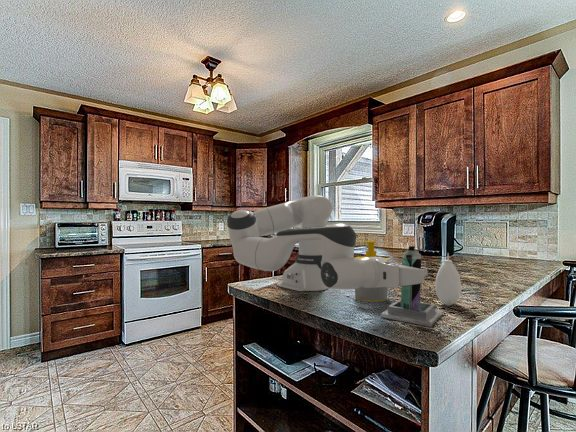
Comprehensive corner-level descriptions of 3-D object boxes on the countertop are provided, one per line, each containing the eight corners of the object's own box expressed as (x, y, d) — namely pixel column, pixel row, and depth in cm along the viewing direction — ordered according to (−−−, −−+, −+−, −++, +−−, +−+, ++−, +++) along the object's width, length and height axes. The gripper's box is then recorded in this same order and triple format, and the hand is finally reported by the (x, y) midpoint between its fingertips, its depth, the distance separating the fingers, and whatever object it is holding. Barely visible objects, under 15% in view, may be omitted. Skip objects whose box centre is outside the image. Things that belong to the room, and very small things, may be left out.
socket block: (381, 317, 98) (381, 306, 98) (396, 307, 109) (396, 297, 109) (430, 326, 90) (430, 315, 90) (442, 314, 101) (442, 304, 101)
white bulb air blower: (446, 300, 118) (446, 251, 118) (465, 306, 111) (466, 253, 111) (430, 303, 115) (430, 251, 115) (450, 308, 108) (450, 254, 108)
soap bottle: (352, 293, 130) (352, 239, 130) (386, 294, 128) (387, 240, 128) (353, 301, 117) (353, 242, 117) (391, 303, 115) (391, 242, 115)
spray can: (421, 315, 96) (423, 247, 96) (401, 313, 97) (403, 246, 97) (418, 310, 101) (420, 245, 102) (399, 308, 103) (401, 245, 103)
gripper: (357, 276, 105) (393, 274, 110) (397, 290, 86) (439, 286, 90) (357, 257, 105) (393, 255, 110) (398, 266, 86) (439, 263, 91)
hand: (414, 269), depth 100 cm, fingers open, 8 cm apart
